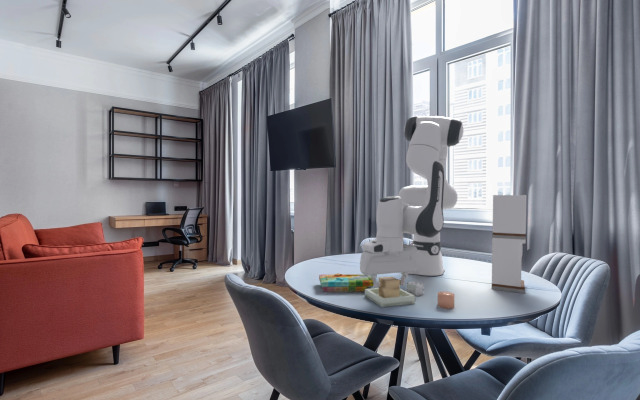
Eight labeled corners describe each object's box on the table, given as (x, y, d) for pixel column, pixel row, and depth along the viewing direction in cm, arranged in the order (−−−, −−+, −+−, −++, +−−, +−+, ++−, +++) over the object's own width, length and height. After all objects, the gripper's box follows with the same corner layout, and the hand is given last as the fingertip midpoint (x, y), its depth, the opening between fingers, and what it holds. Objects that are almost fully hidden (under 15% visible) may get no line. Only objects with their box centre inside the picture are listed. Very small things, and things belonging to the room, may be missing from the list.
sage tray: (364, 296, 120) (365, 289, 120) (395, 293, 123) (395, 286, 123) (381, 307, 108) (381, 299, 108) (415, 303, 112) (415, 295, 112)
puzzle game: (319, 272, 135) (369, 272, 137) (319, 284, 135) (369, 284, 137) (321, 280, 124) (376, 279, 125) (321, 293, 124) (376, 292, 125)
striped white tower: (524, 293, 124) (526, 195, 124) (491, 288, 130) (493, 195, 129) (523, 285, 134) (525, 195, 133) (493, 282, 139) (494, 194, 139)
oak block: (378, 295, 118) (378, 277, 117) (391, 293, 119) (391, 276, 119) (386, 299, 113) (386, 281, 113) (399, 298, 114) (399, 280, 114)
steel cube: (406, 294, 123) (406, 282, 123) (414, 292, 125) (414, 281, 125) (415, 296, 120) (415, 285, 120) (423, 294, 122) (423, 283, 122)
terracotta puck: (434, 304, 111) (434, 292, 111) (447, 303, 113) (447, 290, 113) (444, 309, 107) (444, 296, 107) (457, 308, 108) (458, 295, 108)
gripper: (411, 242, 122) (411, 281, 122) (358, 244, 115) (357, 286, 116) (422, 244, 116) (421, 286, 116) (366, 247, 109) (366, 291, 110)
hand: (389, 286), depth 116 cm, fingers open, 8 cm apart
